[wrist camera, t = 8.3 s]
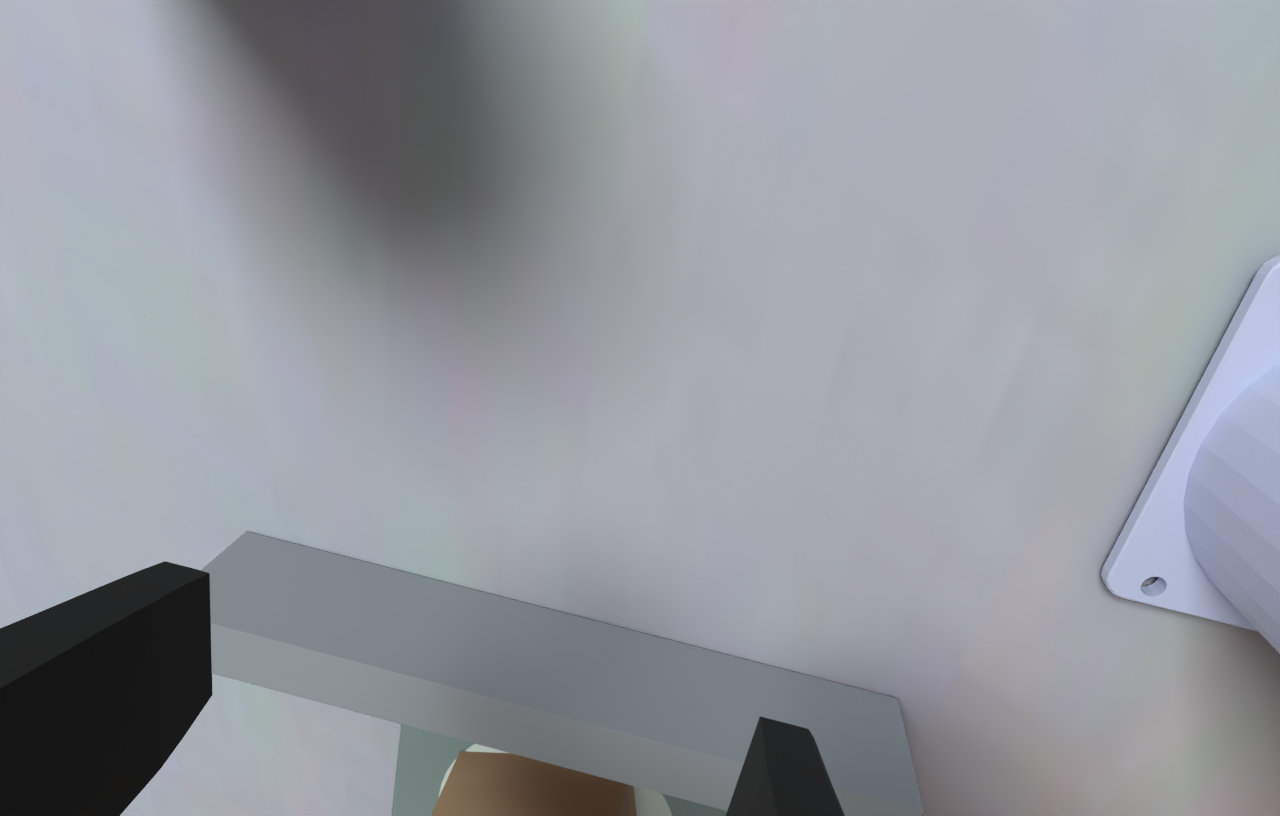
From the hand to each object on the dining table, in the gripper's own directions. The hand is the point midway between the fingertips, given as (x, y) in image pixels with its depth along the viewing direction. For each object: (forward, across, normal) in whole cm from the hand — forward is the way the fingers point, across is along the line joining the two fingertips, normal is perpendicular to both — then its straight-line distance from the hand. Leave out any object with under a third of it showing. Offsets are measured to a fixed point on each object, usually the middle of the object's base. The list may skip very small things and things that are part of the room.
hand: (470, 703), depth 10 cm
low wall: (+9, 0, +6) cm, 11 cm away
